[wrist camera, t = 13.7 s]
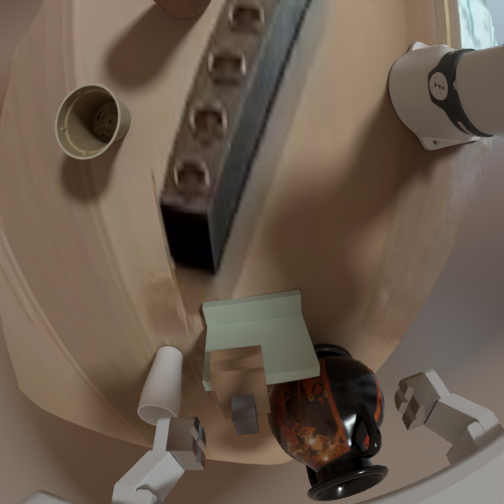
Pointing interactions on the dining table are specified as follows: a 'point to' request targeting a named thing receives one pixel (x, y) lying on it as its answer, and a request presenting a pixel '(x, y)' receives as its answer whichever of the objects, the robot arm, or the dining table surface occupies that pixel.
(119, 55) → the dining table surface
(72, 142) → the flower pot
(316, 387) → the amphora vase
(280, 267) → the dining table surface
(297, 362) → the board
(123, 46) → the dining table surface
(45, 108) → the dining table surface
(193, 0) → the coffee cup
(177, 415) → the drinking glass
